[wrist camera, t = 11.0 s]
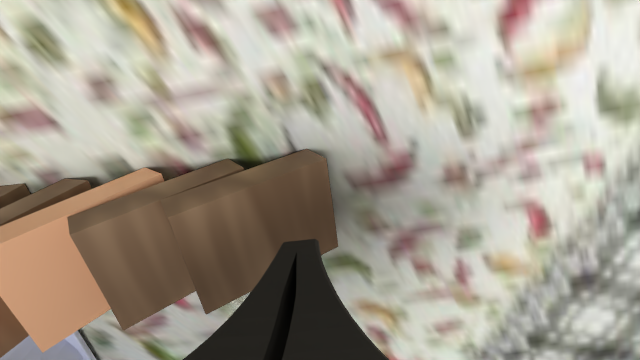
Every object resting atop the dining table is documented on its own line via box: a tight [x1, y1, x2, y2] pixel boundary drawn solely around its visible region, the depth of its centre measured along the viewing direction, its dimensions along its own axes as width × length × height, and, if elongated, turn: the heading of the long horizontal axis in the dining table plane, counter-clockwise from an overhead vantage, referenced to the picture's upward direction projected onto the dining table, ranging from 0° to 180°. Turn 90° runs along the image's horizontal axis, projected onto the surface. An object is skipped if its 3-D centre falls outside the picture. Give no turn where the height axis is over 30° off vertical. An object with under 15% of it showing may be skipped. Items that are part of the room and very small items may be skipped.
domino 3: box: [67, 159, 244, 330], centre depth 16 cm, size 2×5×7 cm
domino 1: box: [0, 179, 92, 358], centre depth 16 cm, size 2×5×7 cm, turn 7°
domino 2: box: [0, 168, 164, 353], centre depth 16 cm, size 2×5×7 cm
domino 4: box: [160, 149, 338, 314], centre depth 16 cm, size 2×5×7 cm
